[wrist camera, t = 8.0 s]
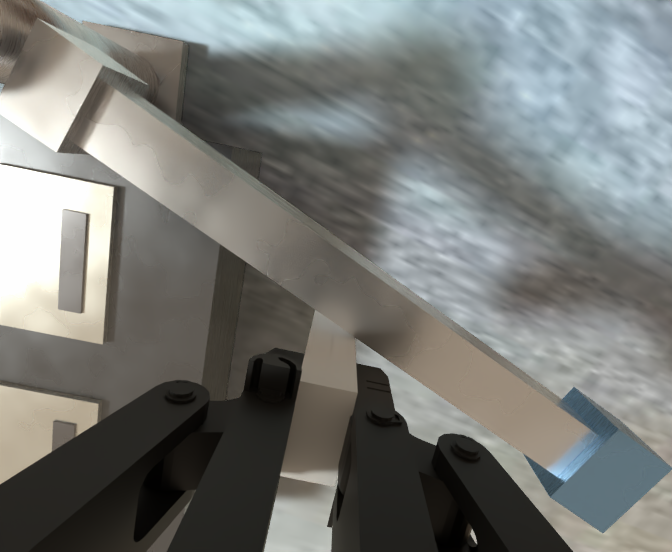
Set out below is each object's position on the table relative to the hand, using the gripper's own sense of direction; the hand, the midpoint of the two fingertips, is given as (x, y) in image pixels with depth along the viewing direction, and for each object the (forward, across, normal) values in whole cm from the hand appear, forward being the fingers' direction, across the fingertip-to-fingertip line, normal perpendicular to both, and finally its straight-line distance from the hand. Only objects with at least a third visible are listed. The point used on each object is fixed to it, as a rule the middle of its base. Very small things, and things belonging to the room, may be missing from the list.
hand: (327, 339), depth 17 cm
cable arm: (-1, +1, +3) cm, 3 cm away
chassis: (+8, -12, -4) cm, 15 cm away
